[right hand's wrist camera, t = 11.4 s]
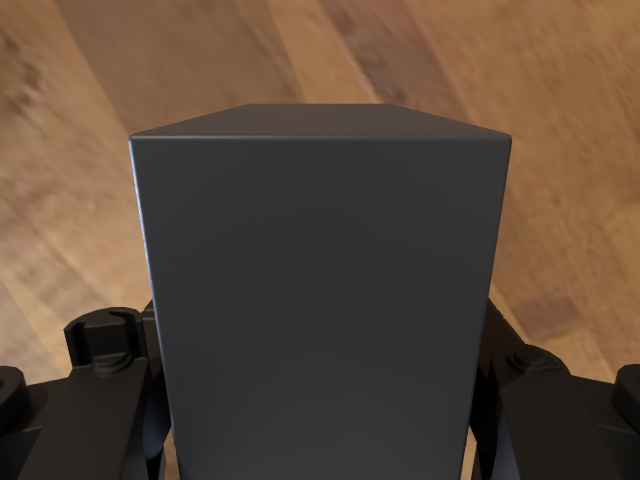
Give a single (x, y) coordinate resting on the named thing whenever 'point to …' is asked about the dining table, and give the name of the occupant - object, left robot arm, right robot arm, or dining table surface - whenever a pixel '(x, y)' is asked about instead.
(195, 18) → the dining table surface
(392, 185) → the beam
